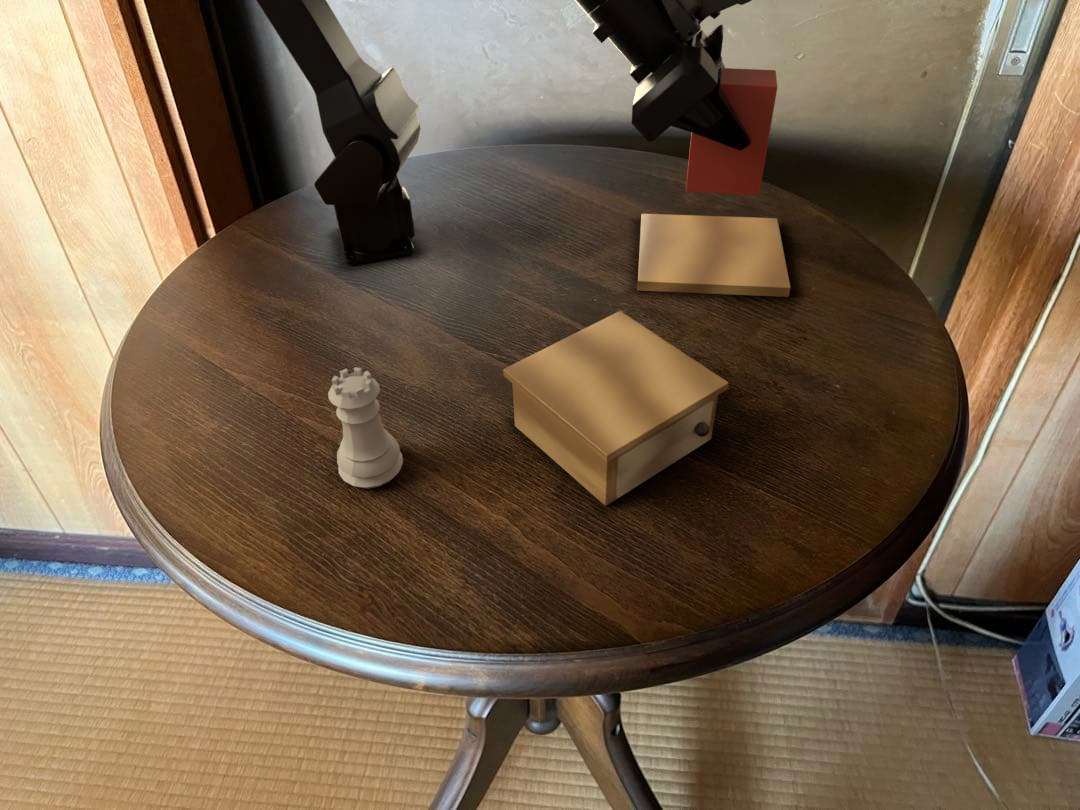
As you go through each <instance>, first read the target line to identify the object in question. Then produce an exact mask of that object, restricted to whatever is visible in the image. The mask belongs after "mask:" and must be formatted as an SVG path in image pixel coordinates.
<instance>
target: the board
mask: <svg viewBox="0 0 1080 810" xmlns="http://www.w3.org/2000/svg"><path fill="white" fill-rule="evenodd" d="M639 231H640V233H639V251H638V256H639V257H638V269H637V270H638V273H637V287H636V288H637V289H636V290H637V291H640V292H641V291H642V292H659V293H660V292H662V293H663V292H664V293H683V294H684V293H685V294H707V295H710V294H711V295H731V296H733V295H734V296H753V297H777V298H789V297H790V293H791V282H790V278H789V277H790V276H789V272H788V267H787V261H786V257H785V252H784V247H783V246H784V245H783V241H782V236H781V231H780V225H779V221H778V218H777V217H752V216H749V217H748V216H723V215H721V216H719V215H695V214H691V215H690V214H666V213H665V214H664V213H662V214H661V213H641V215H640V230H639Z"/></svg>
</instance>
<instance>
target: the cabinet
mask: <svg viewBox="0 0 1080 810" xmlns="http://www.w3.org/2000/svg"><path fill="white" fill-rule="evenodd" d="M502 372H503V373H502V374H503V377H504V378H505V379H506V380H508V381H509V382H510V383H511V386H512V403H513V413H514V414H513V417H514V427H516V429H518V430H519V431H520V432H521V433H522V434H523V435H524V436H525V437H527V439H529V440H530V441H531V442H532V443H533V444H534V445H536V446H537V447H538V448H539V449H540V450H541V451H543V452H544V453H545V454H546V455H547V456H548V457H549V458H550V459H551V460H553V461H554V462H555V463H556V464H557V465H559V466H560V467H561V468H562V469H563V470H564V471H565V472H566V473H567V474H569V476H571V477H572V478H573V479H574V480H575V481H576V482H578V483H579V484H580V485H581V486H582V487H583V488H584V489H585V490H587V492H589V493H590V494H591V495H593V497H594V498H596V499H597V500H598V501H599V502H600V503H601V504H603V505H604V506H606V507H607V506H608V505H610V504H611V503H613V502H615V501H616V500H617V499H619V498H621V497H622V496H624V495H625V494H627V493H629V492H631V491H632V490H634V489H635V488H637V487H639V485H641V484H643V483H644V482H646V481H648V480H649V479H650V478H652V477H654V476H655V475H657V474H658V473H660V472H661V471H664V470H665V469H667V468H668V467H669V466H672V464H675V463H676V462H677V461H679V460H680V459H682V458H684V457H685V456H687V455H688V454H690V453H692V452H693V451H695V450H697V449H698V448H700V447H701V446H703V445H704V444H706V443H707V442H709V441H711V440H712V437H713V430H714V425H715V423H714V422H715V417H716V411H717V404H718V398H719V395H721V394H722V393H724V392H725V391H727V390H728V389H729V383H730V382H728V381H727V380H725V379H724V378H722V377H721V376H719V375H718V374H716V373H715V372H713V371H712V370H710V369H709V368H707V367H706V366H704V365H703V364H701V363H700V362H698V361H697V360H695V359H694V358H692V357H691V356H689V355H688V354H686V353H685V352H683V351H682V350H680V349H679V348H677V347H675V346H674V345H672V344H671V343H670V342H668V341H666V339H663V338H662V337H660V336H659V335H657V334H656V333H654V332H653V331H651V330H650V329H649V328H647V327H646V326H644V325H642V324H640V323H639V321H638V322H637V321H636V320H635V319H633V318H631V317H630V316H629V315H627V314H626V313H624V312H623V311H621V310H619V311H617V312H615V313H613V314H611V315H609V316H606V317H605V318H603V319H601V320H599V321H597V322H595V323H593V324H591V325H589V326H587V327H585V328H583V329H581V330H579V331H577V332H575V333H573V334H571V335H569V336H567V337H565V338H563V339H561V340H559V341H557V342H555V343H553V344H551V345H549V346H547V347H545V348H543V349H541V350H539V351H537V352H535V353H533V354H531V355H529V356H527V357H525V358H523V359H521V360H519V361H517V362H515V363H513V364H511V365H509V366H507V367H505V368H504V369H503V370H502Z"/></svg>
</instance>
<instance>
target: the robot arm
mask: <svg viewBox="0 0 1080 810" xmlns="http://www.w3.org/2000/svg"><path fill="white" fill-rule="evenodd" d="M752 1H753V0H574V2H575V3H576V4H577V5H578V7H580V8H581V9H582V10H583V12H584V13H585V15H587V17H588V18H589V19H590V20H591V21H592V22H593V23H594V24H595V25H594V27H593V31H592V34H593V36H594V37H595V38H596V39H597V40H598V41H599V42H600V43H601V44H603V43H604V42H605V41H606V40H607V39H608V40H609V41H610V42H611V44H613V45H614V47H615V48H616V49H617V50H618V51H619V52H620V53H621V54H622V56H624V58H625V59H626V60H627V61H628V63H630V65H631V68H630V71H629V75H630V77H631V78H632V79H633V80H634V81H635V82H636V83H637V85H638V86H637V87H636V88H635V92H634V97H633V102H632V106H631V107H632V108H631V123H630V124H631V125H632V126H633V127H634V128H635V130H637V131H638V132H639V133H640V134H641V135H642V137H643V138H644V139H645V140H646V141H647V142H648V143H650V142H652V141H655V140H656V139H657V138H658V137H660V136H661V135H662V134H664V133H665V131H667V130H668V129H669V128H670V127H673V128H676V129H679V130H682V131H685V132H688V133H694V134H697V135H700V136H703V137H705V138H708V139H710V140H713V141H716V142H718V143H721V144H723V145H726V146H729V147H731V148H734V149H736V150H739V151H741V150H743V149H745V148H746V147H747V146H748V145H750V143H751V139H750V137H749V135H748V134H747V132H746V130H745V128H744V126H743V125H742V123H741V121H740V120H739V118H738V116H737V115H736V113H735V111H734V110H733V108H732V106H731V105H730V103H729V101H728V99H727V98H726V96H725V94H724V93H723V91H722V89H721V88H720V81H721V76H722V68H726V67H725V64H724V62H723V57H722V49H723V43H724V42H723V41H724V25H723V24H722V23H721V24H719V25H718V26H716V27H715V28H714V29H713V30H712V31H711V32H709V34H708V35H707V34H706V33H705V31H704V30H703V29H702V27H701V24H702V22H704V20H706V18H708V17H711V18H712V19H714V20H716V19H717V18H718V17H720V15H721V12H722V11H724V10H726V9H729V8H732V7H734V6H736V5H739V6H744V5H746V4H748V3H750V2H752ZM255 2H256V3H257V5H258V6H259V8H260V9H261V11H262V12H263V14H264V16H265V17H266V18H267V20H268V22H269V23H270V24H271V26H272V28H273V30H274V31H275V33H276V34H277V36H278V37H279V39H280V41H281V42H282V43H283V45H284V47H285V49H287V51H288V53H289V54H290V56H291V57H292V59H293V60H294V62H295V63H296V65H297V66H298V68H299V70H300V71H301V74H302V75H303V76H304V78H305V79H306V81H307V82H308V83H309V85H310V86H311V89H312V90H313V92H314V95H315V99H316V105H317V109H318V113H319V120H320V123H321V129H322V132H323V136H324V138H325V139H326V141H327V143H328V146H329V148H330V150H331V152H332V154H333V156H334V157H333V159H331V160H332V161H331V162H330V163H329V164H328V165H327V166H326V167H325V169H324V170H323V171H322V172H321V174H320V175H319V176H318V178H317V179H316V180H314V184H313V187H314V188H315V189H316V191H317V192H318V195H319V196H320V198H321V200H322V202H323V203H324V204H325V205H327V206H333V209H334V214H335V218H336V224H337V229H336V231H337V237H338V240H339V243H340V247H341V248H340V249H341V251H342V255H343V259H344V263H345V264H346V265H348V266H350V265H355V264H361V263H367V262H372V261H378V260H385V259H388V258H389V259H391V258H394V257H399V256H405V255H410V254H412V253H414V252H415V246H414V243H413V241H412V239H414V238H415V237H416V233H415V225H414V218H413V211H412V203H411V199H410V195H409V194H408V191H407V188H405V187H404V186H402V183H401V180H400V178H399V176H398V173H399V171H400V169H401V168H402V167H403V165H404V163H405V162H406V160H407V159H408V158H409V156H410V155H411V153H412V152H413V150H414V149H415V147H416V145H417V144H418V142H419V138H420V133H421V124H420V123H421V122H420V120H419V117H418V114H417V112H418V111H419V109H420V104H418V103H417V102H416V101H415V100H414V99H413V98H412V97H411V96H410V95H409V92H408V91H407V90H406V88H405V85H404V82H403V80H402V78H401V75H400V73H399V72H398V71H397V69H396V68H395V67H390V68H389V69H387V70H386V71H385V72H384V73H383V74H382V73H380V72H379V71H378V70H376V69H375V68H373V67H372V66H371V65H370V64H368V63H367V62H366V61H364V59H363V58H362V56H361V55H360V54H359V53H358V51H357V50H356V48H355V46H354V44H353V42H352V41H351V39H350V38H349V36H348V34H347V33H346V31H345V29H344V27H343V25H342V24H341V23H340V21H339V19H338V17H337V16H336V14H335V12H334V11H333V10H332V8H331V6H330V4H329V3H328V1H327V0H255Z"/></svg>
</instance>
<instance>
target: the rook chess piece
mask: <svg viewBox="0 0 1080 810" xmlns="http://www.w3.org/2000/svg"><path fill="white" fill-rule="evenodd" d="M339 375H340V377H339V376H337V375H333V377H332V378H331V380H330V381H331V387H330V389H329V390H328V395H327V396H328V397H327V398H328V400H329V401H330V403H331V404H332V405H333V406H335V407H336V409H335V411H336V417H337V418H338V420H340V421H341V425H342V439H341V441H340V443H339V447H338V449H337V450H336V465H337V469H338V475H339V476H340V477H341V479H342V480H343V482H345V483H347V484H349V485H351V486H353V487H355V488H358V489H366V490H370V489H373V488H374V489H375V488H379V487H383V486H384V485H386V484H388V483H390V482H391V481H392V480H393V479H395V477H396V476H397V475H398V474H399V473H400V471H401V469H402V466H403V464H404V459H403V453H402V452H401V449H400V444H399V442H398V441H397V440H396V439H395V437H394V436H393V435H392V434H390V432H389V431H388V430H387V429H385V428H384V424H383V422H382V420H381V418H380V415H379V411H380V409H381V406H380V405H381V404H380V401H378V399H377V397H378V395H379V394H380V392H381V390H380V389H381V388H380V383H378V382H377V380H376V379H375V378H373V377H372V373H370V372H369V371H368V370H366V371H364V372H363V368H362V367H353V372H352V373H349V370H348V368H344V369H342V370H340V371H339Z"/></svg>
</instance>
